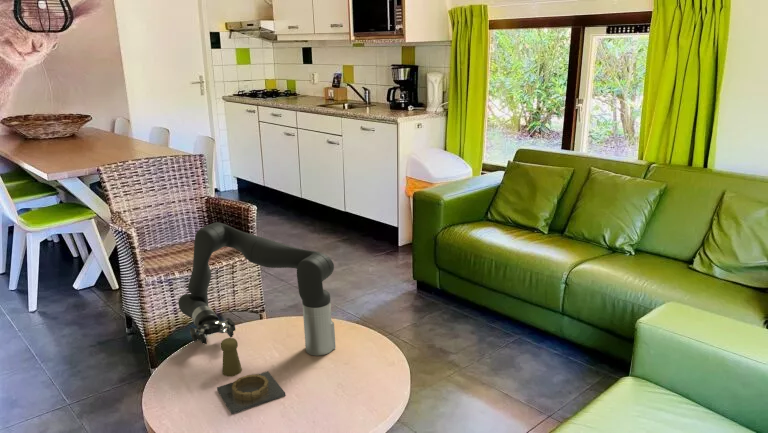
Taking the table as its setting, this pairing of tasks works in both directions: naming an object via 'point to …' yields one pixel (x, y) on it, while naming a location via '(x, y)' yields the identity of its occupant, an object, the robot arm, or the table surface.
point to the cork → (230, 357)
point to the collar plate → (250, 392)
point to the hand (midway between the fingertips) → (218, 338)
